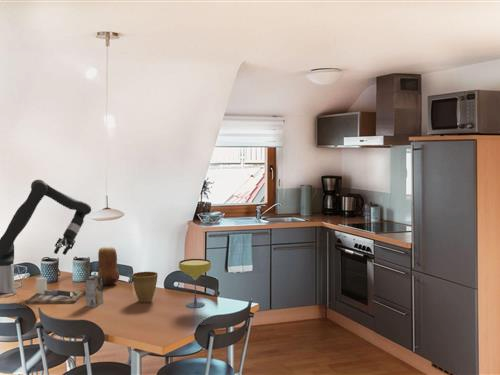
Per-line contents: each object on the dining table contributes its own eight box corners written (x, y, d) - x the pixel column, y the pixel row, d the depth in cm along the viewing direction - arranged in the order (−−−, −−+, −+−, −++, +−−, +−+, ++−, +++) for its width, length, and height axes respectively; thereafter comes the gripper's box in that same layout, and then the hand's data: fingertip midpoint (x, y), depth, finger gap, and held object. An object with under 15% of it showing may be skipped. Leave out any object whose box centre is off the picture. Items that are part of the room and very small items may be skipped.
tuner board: (25, 303, 315) (25, 299, 314) (38, 294, 335) (38, 290, 334) (74, 303, 316) (74, 298, 315) (84, 293, 336) (84, 289, 335)
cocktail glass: (175, 302, 316) (175, 260, 314) (205, 299, 323) (205, 257, 321) (184, 311, 299) (184, 266, 297) (215, 307, 306) (215, 263, 304)
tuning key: (72, 295, 323) (71, 280, 322) (67, 297, 319) (67, 282, 318) (40, 291, 332) (39, 277, 332) (35, 293, 329) (34, 278, 328)
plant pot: (163, 299, 324) (162, 272, 322) (148, 305, 310) (147, 278, 309) (142, 296, 330) (142, 270, 329) (127, 302, 316) (126, 275, 315)
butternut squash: (110, 281, 367) (109, 244, 365) (123, 283, 360) (122, 246, 358) (93, 285, 356) (92, 247, 354) (106, 288, 348) (106, 249, 346)
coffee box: (93, 301, 318) (92, 274, 317) (103, 302, 317) (102, 275, 316) (85, 306, 309) (84, 278, 308) (95, 307, 308) (95, 279, 307)
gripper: (60, 227, 349) (48, 250, 341) (75, 228, 341) (62, 251, 333) (68, 234, 354) (56, 255, 346) (83, 235, 346) (70, 257, 338)
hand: (59, 253), depth 339 cm, fingers open, 8 cm apart
